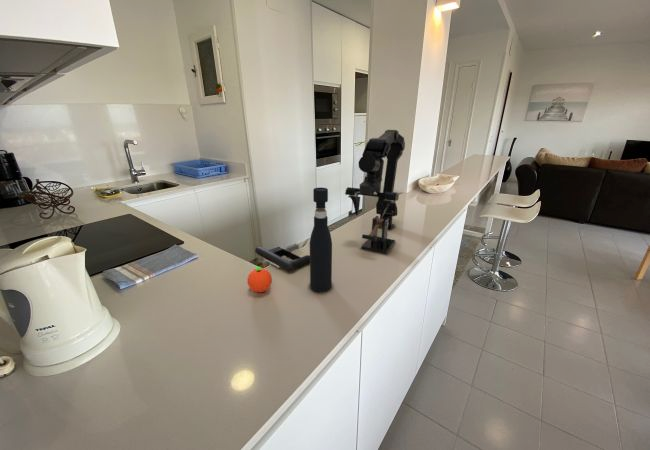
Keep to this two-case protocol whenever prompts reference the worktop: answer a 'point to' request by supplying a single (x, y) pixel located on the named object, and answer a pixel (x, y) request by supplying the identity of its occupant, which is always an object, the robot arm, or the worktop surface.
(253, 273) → the clementine
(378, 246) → the bracket
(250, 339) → the worktop surface
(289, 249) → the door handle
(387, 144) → the robot arm
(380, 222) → the lever
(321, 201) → the black bottle
